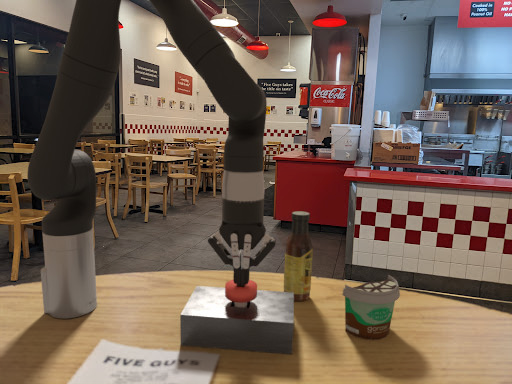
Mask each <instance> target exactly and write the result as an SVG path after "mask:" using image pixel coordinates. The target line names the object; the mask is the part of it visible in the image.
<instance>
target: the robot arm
mask: <svg viewBox="0 0 512 384" xmlns="http://www.w3.org/2000/svg"><path fill="white" fill-rule="evenodd" d="M148 1H149V2H150V4H152V6H153V7H154V8H155V10H156V11H157V12H158V14H159V16H160V17H161V19H162V21H163V22H164V25H165V27H166V28H167V30H168V33H169V34H170V36H171V38H172V40H173V42H174V43H175V45H176V46H177V48H178V49H179V51H180V53H182V55H183V56H184V57H185V59H186V60H187V62H188V63H189V64H190V66H191V67H192V68H193V69H194V70H195V72H196V73H197V74H198V75H199V76H200V78H201V79H202V80H203V81H204V83H205V86H206V87H207V88H208V90H209V92H210V93H211V95H212V97H213V98H214V100H215V102H216V103H217V104H218V105H219V107H220V108H221V110H222V111H223V112H224V113H225V114H226V116H228V124H227V125H228V126H227V127H228V128H227V131H228V132H227V137H226V139H225V142H224V146H223V176H222V182H221V184H222V185H221V187H222V188H221V190H222V191H221V224H220V226H219V229H218V231H217V232H216V233H212V234H211V235H210V236H209V237H208V238H207V243H208V244H209V246H211V248H212V249H213V251H214V252H215V253H216V255H217V256H218V257H219V259H221V261H222V263H223V264H224V265H229V266H231V267H232V269H233V279H232V280H233V281H234V284H237V287H245V284H248V282H249V280H250V272H251V271H250V268H252V267H258V266H259V264H261V263H262V261H263V260H264V259H265V258H266V257H267V256H268V254H270V252H272V250H273V249H274V248H275V247H276V244H277V238H276V237H274V236H270V235H269V233H267V230H266V227H265V224H264V209H265V208H264V205H265V195H266V194H265V178H264V155H265V153H264V152H265V151H264V135H265V130H266V129H265V128H266V118H267V117H266V116H267V103H268V101H267V96H266V94H265V91H264V89H263V88H262V87H261V86H260V85H259V84H258V83H257V82H255V80H254V79H253V78H252V76H250V74H249V73H248V72H247V70H246V69H245V68H244V66H243V65H242V64H241V63H240V62H239V61H238V59H237V58H236V57H235V54H234V52H233V50H232V49H231V47H230V45H229V44H228V43H227V42H226V40H225V39H224V37H223V35H221V33H220V32H219V30H217V28H216V26H215V25H214V24H213V23H212V22H211V21H210V19H209V18H208V16H206V14H205V13H204V12H203V10H202V9H201V8H200V6H199V5H198V4H197V3H196V2H195V1H194V0H148ZM121 3H122V0H75V5H74V7H73V13H72V17H71V19H70V20H71V21H70V26H69V28H68V29H69V30H68V33H67V38H66V41H65V44H64V47H63V50H62V55H61V59H60V63H59V66H58V70H57V75H56V79H55V84H54V89H53V92H52V95H51V99H50V102H49V105H48V110H47V113H46V115H45V120H44V122H43V125H42V128H41V130H40V133H39V136H38V138H37V141H36V143H35V146H34V149H33V151H32V153H31V156H30V159H29V162H28V167H27V183H28V186H29V189H30V191H31V193H32V194H33V195H34V196H35V197H36V198H37V199H39V200H43V201H55V200H57V201H56V203H55V205H54V206H53V208H52V209H51V210H50V211H49V212H48V213H47V214H45V215H44V216H43V217H42V219H41V233H42V243H43V245H42V246H43V254H44V266H43V267H42V268H41V269H40V279H41V280H40V281H41V292H42V304H43V313H44V314H49V315H50V316H51V317H53V318H54V319H55V318H56V319H74V318H78V317H82V316H85V315H87V314H89V313H91V312H92V311H94V310H95V308H96V307H97V306H98V303H97V302H98V301H97V298H98V295H97V282H96V281H97V280H96V279H97V278H96V262H95V261H96V259H95V258H96V257H95V242H94V227H93V225H94V218H95V215H96V212H97V176H96V174H97V173H96V168H95V165H94V162H93V159H91V157H90V156H89V155H88V154H87V153H86V152H85V151H83V150H80V149H76V146H77V144H78V141H79V139H80V138H81V135H82V134H83V133H84V131H85V130H86V128H87V127H88V125H90V123H91V122H92V121H93V120H94V119H95V117H96V116H97V115H98V114H99V113H100V112H101V111H102V109H103V108H104V106H105V105H106V104H107V102H108V100H109V99H110V96H111V95H112V93H113V90H114V86H115V83H116V80H117V76H118V73H119V70H120V69H119V68H120V64H121V57H122V56H121V53H122V52H121V51H122V50H121V49H122V48H121V37H120V36H121V35H120V25H119V24H120V21H119V20H120V19H119V18H120V17H119V16H120V11H121V10H120V8H121V5H122V4H121ZM262 239H263V240H262ZM223 241H225V243H226V244H227V247H229V248H230V249H231V253H230V251H229V250H228V249H227V248H226V246H225V245H224V243H223ZM260 241H262V243H261V244H262V245H261V246H262V247H261V248H260V250H259V251H258V252H257V253H256V254H255V255H254V256H252V251H253V250H254V249H255V248H256V247H257V246H258V244H259V243H260ZM242 251H243V253H242ZM251 256H252V257H251Z"/></svg>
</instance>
